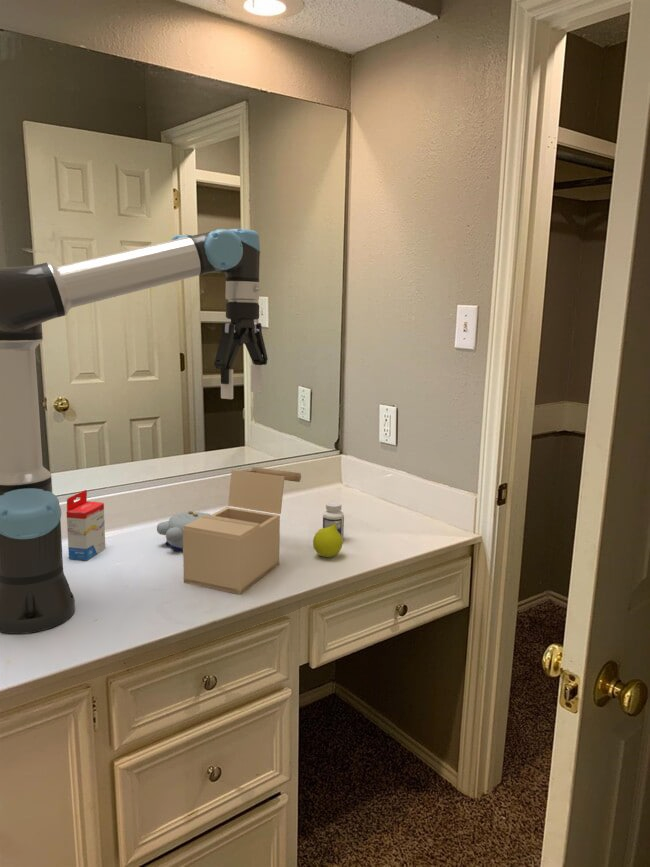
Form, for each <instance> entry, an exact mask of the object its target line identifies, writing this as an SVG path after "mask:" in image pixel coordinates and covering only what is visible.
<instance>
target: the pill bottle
mask: <svg viewBox="0 0 650 867" xmlns="http://www.w3.org/2000/svg"><path fill="white" fill-rule="evenodd" d="M335 521H336V522H337V524H336V528H337V531H338V532H339V533H340V535H341V537H342V542H343V541H344V526H345V525H344V523H345V514H344V512H343V511H342V503H341V502H337V501H329V502H326V503H325V511H324V512H323V514H322V528H326V527H331V526H332V525H333V524H334V523H335Z"/></svg>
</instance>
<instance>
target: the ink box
mask: <svg viewBox="0 0 650 867" xmlns="http://www.w3.org/2000/svg"><path fill="white" fill-rule="evenodd" d="M87 496H88V491H87V489H85V490H82V491H81V492H78V493H75V494H74V495H71V496H70V497H68V498H66V526H67V527H66V528H67V529H66V530H67V545H68V546H67V547H68V559H69V560H77V561H89V560H90V559H92V558H94V557H95V556H96V555H98V554H100V553H101V552H103V551H104V550H106V532H105V531H106V530H105V529H106V527H105V502H100V501H87V500H88V497H87ZM77 498H78V499H79V498H80V499H79V500H77ZM76 500H77V501H76ZM74 501H75V502H74Z"/></svg>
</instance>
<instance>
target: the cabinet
mask: <svg viewBox="0 0 650 867" xmlns="http://www.w3.org/2000/svg"><path fill="white" fill-rule="evenodd" d="M280 515H281V514H275V513H269V512H262V511H256V510H250V509H244V508H237V507H231V506H226V507H224V508H222V509H221V510H218V511H216V512H215V513H213V514H210V515H204V516H202V517H201V518H199V519H197V520H195V521H193V522H191V523H189V524H187V525H185V526H184V529H183V549H182V551H183V552H182V556H183V557H182V560H183V563H182V564H183V583H185V584H189V585H193V586H198V587H202V588H203V587H204V588H207V589H212V590H216V591H221V592H224V593H225V592H227V593H232V594H234V595H242V594H243V593H245V592H246V591H247V590H248V589H250V588H251V587H252V586H254V585H255V584H256V583H258V582H259V581H260V580H262V579H263V578H264V577H265V576H267V575H268V574H269V573H271V572H272V571H274V569H276V568H277V567H278V566H280V545H281V544H280V543H281V542H280V541H281V540H280V537H281V535H280V534H281V532H280V531H281V529H280V525H281V524H280V522H281V516H280Z"/></svg>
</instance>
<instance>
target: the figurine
mask: <svg viewBox="0 0 650 867" xmlns="http://www.w3.org/2000/svg"><path fill="white" fill-rule="evenodd" d="M204 515H211V514H210V513H208V512H207V513H205V512H199V511H198V512H196V511H195V512H194V511H192V510H188V512H179V513H175V514H173V515H171V517H169V520H167V521H160V522H159V523H158V524H157V525H156V531H157V532H156V533H158V535H162V536H165V538H166V541H165V546H167V547H171V548H172V549H173V552H181V551H183V529H184V526H185V525H187V524H189V523H191V522H193V521H195V520H197V519H199V518H201V517H202V516H204Z"/></svg>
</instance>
